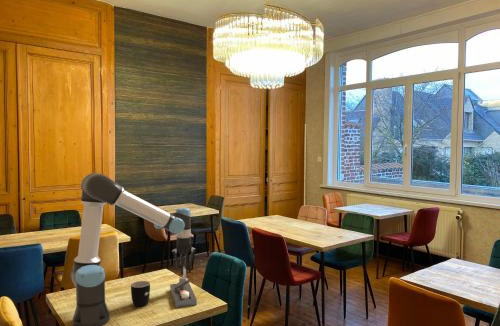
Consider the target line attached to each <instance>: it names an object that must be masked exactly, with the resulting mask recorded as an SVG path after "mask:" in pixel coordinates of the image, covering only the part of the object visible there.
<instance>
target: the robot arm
mask: <svg viewBox="0 0 500 326" xmlns="http://www.w3.org/2000/svg"><path fill="white" fill-rule="evenodd" d="M80 189H81V194H80V195H81V197H80V202H81V203H82V204H83V210H82V219H81V225H80V227H81V228H80V235H79V245H78V253H77V256H76V257H75V258H74V259H73V265H72V268H71V271H70V280H71V282H72V284H73V286H74V288H75V292H76V293H75V294H76V295H75V300H76V306H75V310H74V314H73V315H72V316H73V317H72V322H71V323H72V326H103V325H105V324H107V323H108V322H109V321H110V319H111V315H110V314H111V313H110V311H109V308H108V306H107V302H106V289H105V288H106V273H105V269H104V268H103V267H102V266H101V258H100V257H99V248H100V247H99V246H100V238H101V232H102V231H101V229H102V224H103V223H102V221H103V213H104V212H103V211H104V206H105V205H106V204H108V205H111V206H118V207H120V208H122V209H124V210H126V211H128V212H130V213H132V214H134V215H136V216H138V217H140V218H142V219H145V220H147V222H148V221H149V222H151V223H153V226H154V228H155V229H156V230H162V229H164V230H167V231H168V232H170V233H172V234H176V246H175V248H174V249H172V250H171V252H172V254H173V255H174V260H175V264H176V267H177V269H180V275H182V277H183V280H184V279H186V278H187V275H188V273H189V268H191V267H192V264H193V260H194V256H195V253H196V251H197V249H196V247H193V246H192V237H191V236H192V231H191V230H192V229H191V228H192V227H191V226H192V223H191V221H192V220H191V219H192V214H191V213H192V212H191V209H190V208H189V207H178V208H176V211H175V212H170V213H169V212H167V211H166V210H163V209H162V208H160V207H158V206H156V205H154V204H152V203H150V202H148V201H146V200H145V199H143V198H140V197H138V196H137V195H135V194H133V193H131V192H130V191H127V190H125V189H124V186H123V185H120V184H119V183H117V182H116V181H114V180H113V179H111V178H110V177H109V176H107V175H105V174H101V173H100V172H99V173H98V172H93V173H89V174H88V175H86V176H85V177H84V178H83V179H82V181H81V183H80ZM177 252H178V253H179V255H180V256H179V259H178V255H177V254H178V253H177ZM189 253H190V257H189ZM179 261H180V263H179Z"/></svg>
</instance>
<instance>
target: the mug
mask: <svg viewBox="0 0 500 326" xmlns="http://www.w3.org/2000/svg"><path fill="white" fill-rule="evenodd" d="M150 293H151V282H150V281H148V280H139V281H135V282H132V283H131V284H130V295H131V301H132V304H133V306H134V307H136V308H142V307H145V306H148V303H149V301H150Z"/></svg>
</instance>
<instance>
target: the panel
mask: <svg viewBox="0 0 500 326" xmlns="http://www.w3.org/2000/svg"><path fill="white" fill-rule="evenodd" d="M175 284H176V283H173V284H171V283H170V284H169V290H170V294H171V297H172V300H173V304H174V306H175V308H183V307H190V306H197V305H198V299H197V297H196V295H195V293H194V291H193V288H192V286H191V284H190V282H189V283H187V284H185V285H184V286H182V287H180V288H178V289H177V290H175V288H174V285H175ZM181 290H186V291H188V292H189V299H185V300H181V295H180V291H181Z"/></svg>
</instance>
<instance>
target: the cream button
mask: <svg viewBox="0 0 500 326" xmlns="http://www.w3.org/2000/svg"><path fill="white" fill-rule="evenodd" d="M185 299H189V292H188V291H184V292H181V300H185Z"/></svg>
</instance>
